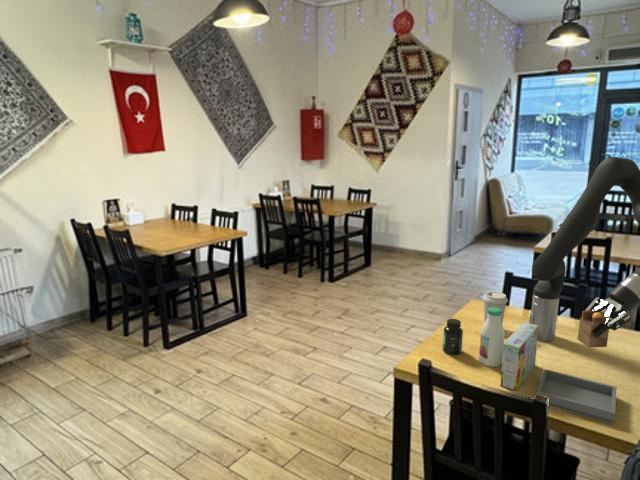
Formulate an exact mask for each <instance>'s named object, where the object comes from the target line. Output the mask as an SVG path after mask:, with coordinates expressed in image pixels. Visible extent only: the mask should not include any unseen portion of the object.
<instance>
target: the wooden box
mask: <svg viewBox="0 0 640 480" xmlns="http://www.w3.org/2000/svg"><path fill="white" fill-rule="evenodd" d="M581 312H582V313H581V317H579V324H578V325H579V326H578V333H577V340H578V342H580V343H582V344H583V345H584V346H586V347H587V348H588V349H589V348H590V349H591V348H607V347H608V339H609V333H610V329H609V330H608V329H607V330H606V331H605V332H604V333H603V334H601V335H600V336H598V337H596V336H594V335H593V334H592V331H593V330H594V329H595V328H596V327H597V326H598V325H600V324H602V322H603V321H604V320H605V319H606V317H593V318H592V315H593V314H594V313H595V311H592V310H590V311H585V310H582V311H581ZM598 312H599V313H601V312H600V310H598ZM601 314H602V315H603V316H605V314H604V313H601ZM609 322H610V321H608V323H609Z"/></svg>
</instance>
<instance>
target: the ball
mask: <svg viewBox="0 0 640 480" xmlns="http://www.w3.org/2000/svg"><path fill="white" fill-rule="evenodd" d="M593 317H604V316H603V315H602V314H601V313H599V312H596V313H594V314H593V315H592V318H593Z"/></svg>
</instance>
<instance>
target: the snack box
mask: <svg viewBox="0 0 640 480" xmlns="http://www.w3.org/2000/svg"><path fill="white" fill-rule="evenodd" d="M537 335H538V325H534V324H530V323H529V322H525V321H524V322H522V323H521V324H520V325H519V327H518V328H516V330H515V331H514V332H513V333H512V334H511V335H510V336H509V337H508V338H507V339H506V341H504V344H503V357H502V364H501V373H500V386H501V387H504V388H507V389H510V390H512V391H517V390H518V389H519V387H520V386H521V385H522V383H523V382H524V381H525V379H526V378H527V376H528V375H529V374H530V373H531V371H532V370H533V368H534V367H535V366H536V362H537V360H536V359H537V357H536V356H537V344H538V340H537Z"/></svg>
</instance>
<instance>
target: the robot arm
mask: <svg viewBox="0 0 640 480" xmlns="http://www.w3.org/2000/svg"><path fill="white" fill-rule="evenodd" d="M613 187H619V188H621V189H622V190H623V192H624V193H625V194H626V195H627V197H628V198H629V201H630V203H631V206H632V207H631V208H632V213H633V216H634V219H635V221H636V222H637V225H638V226H639V227H640V168H639V166H638V165H637V163H636V162H635V161H634V160H632V159H630V158H625V157H616V156H609V157H607V158H605V159H603V161H601V162H600V163H599V164H598V165H597V167H596V169H595V170H594V172H593V174H592V176H591V177H590V180H589V182H588V184H587V186H586V187H585V189H584V191H583V192H582V194H581V195H580V197H579V199H577V201H576V203H575V205H573V207H572V209H571V210H570V211H569V212H568V214H567V215H566V217H565V218H564V220H563V221H562V223H561V225H560V227H559V228H558V229H557V231H556V232H555V234H554V235H553V237H552V239H551V240H550V242H549V243H548V245H547V246H546V247H544V250H542V252H541V253H540V254H539V255H538V256H537V258H536V259H535V260H534V262H533V263H532V265H531V266H532V267H531V270H532V271H531V272H532V275H533V277H534V278H535V279H537V280H538V282H537V283H536V284H535V286H534V287H533V289H532V290H533V291H532V302H531V310H530V311H531V312H530V314H529V321H528V323H530V324H534V325H538V335H537V341H540V342H551V341H554V340H555V337H556V330H557V329H556V328H557V322H558V321H557V320H558V313H559V303H560V296H561V295H560V294H561V292H562V291H563V288H564V282H565V276H566V270H567V267H566V263H565V261H564V259H566V257H567V256H568V255H569V254H570V253H571V252H572V251H573V250H575V248H576V247H578V246H579V245H580V244H581V243H583V241H584V240H585V239H586V238H587V237H588V236H589V235H590V233H591V232H592V231H593V229H594V228H595V227H596V225H597V224H598V221H599V219H600V212H601V206H602V203H603V201H604V199H605V198H606V197H607V195H608V193H609V192H610V191H611V190H612V188H613ZM638 305H640V266H639V267H637V268H636V269H635V270H634V271H633V272H632V273H631V274H630V275H628V276H626V277H625V278H623V280H622V281H620V282H619V284H617V285H616V286H615V287H614V288H613V289H611V290H610V291H609V293H608V297H607V298H605V299H601V298H600V297H598V296H597V297H595V299H593V300H592V302H591V303H590V304H589V305H588V306H587V308H585V310H584V311H595V313H596V312H598V310H599V311H600V312H601V313H604V314H605V316H604V317H606V319H605V320H604V321H603V322H602V324H600V325H598V326H597V327H596V328H595V329H594V330H593V331H592V334H593V335H594V336H596V337H598V336H600V335H601V334H603V333H604V332H605V331H606V330H607V329H608V330H609V331H610V330H612V331H613V332H615V331H618V329H620V328H621V327H623V326H624V325H626V324H627V323H628V322H630V321H631V320H632V317H631V316H630V315H629V314H628V313H627V312H632V311H633V310H634V309H635V308H636V307H637V306H638ZM608 321H610V322H609V323H608ZM616 323H617V324H616Z"/></svg>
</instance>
